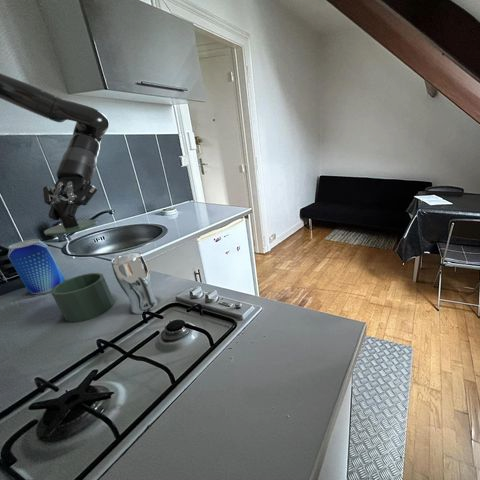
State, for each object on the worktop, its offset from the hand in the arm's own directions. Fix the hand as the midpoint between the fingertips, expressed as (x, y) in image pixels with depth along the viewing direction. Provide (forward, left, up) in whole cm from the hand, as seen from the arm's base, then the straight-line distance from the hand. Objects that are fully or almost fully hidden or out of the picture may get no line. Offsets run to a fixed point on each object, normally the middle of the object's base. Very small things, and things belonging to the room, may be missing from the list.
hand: (60, 218), depth 71 cm
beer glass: (+16, -17, -24) cm, 34 cm away
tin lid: (+1, +2, -3) cm, 4 cm away
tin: (+2, -11, -24) cm, 26 cm away
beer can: (-15, +9, -24) cm, 29 cm away
